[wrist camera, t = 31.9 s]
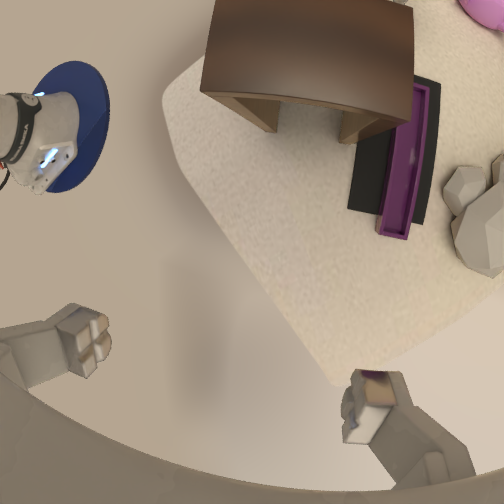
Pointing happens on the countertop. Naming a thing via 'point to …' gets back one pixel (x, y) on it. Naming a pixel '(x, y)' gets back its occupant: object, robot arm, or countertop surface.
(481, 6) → the teapot
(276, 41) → the walnut stand
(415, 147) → the plum dish
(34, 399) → the robot arm
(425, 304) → the countertop surface
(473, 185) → the rock
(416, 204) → the charcoal mat
